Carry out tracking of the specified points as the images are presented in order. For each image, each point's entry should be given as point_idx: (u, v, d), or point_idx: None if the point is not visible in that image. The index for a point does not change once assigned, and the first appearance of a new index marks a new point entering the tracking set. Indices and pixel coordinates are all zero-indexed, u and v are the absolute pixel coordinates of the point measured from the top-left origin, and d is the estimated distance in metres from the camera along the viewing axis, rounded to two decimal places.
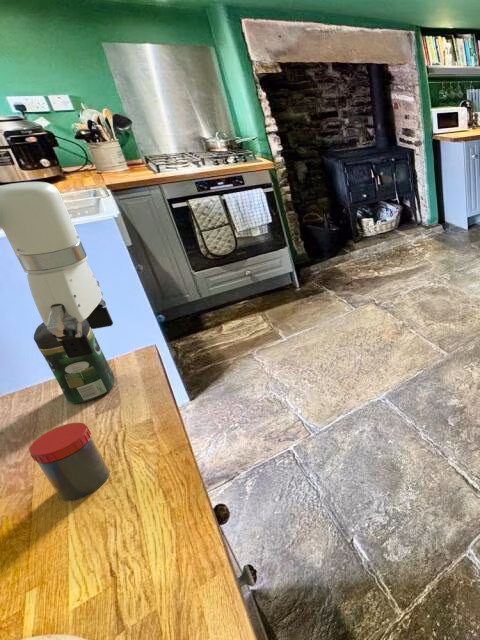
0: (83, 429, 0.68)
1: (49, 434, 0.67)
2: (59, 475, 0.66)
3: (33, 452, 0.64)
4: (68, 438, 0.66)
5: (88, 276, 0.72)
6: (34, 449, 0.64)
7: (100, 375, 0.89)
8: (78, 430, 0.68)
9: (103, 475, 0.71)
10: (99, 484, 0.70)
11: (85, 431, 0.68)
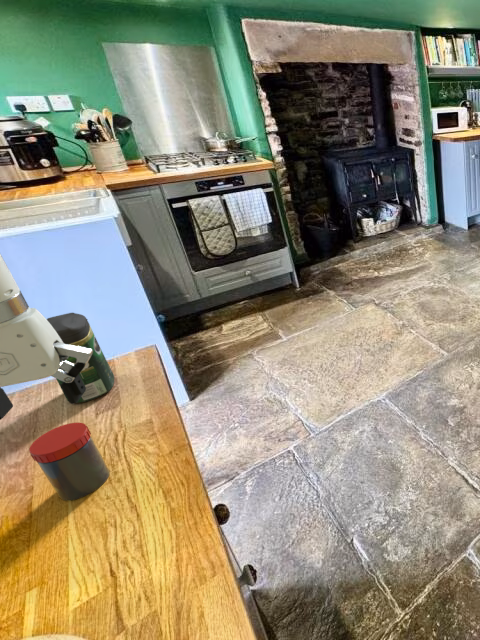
0: (83, 429, 0.68)
1: (49, 434, 0.67)
2: (59, 475, 0.66)
3: (33, 452, 0.64)
4: (68, 438, 0.66)
5: None
6: (34, 449, 0.64)
7: (100, 375, 0.89)
8: (78, 430, 0.68)
9: (103, 475, 0.71)
10: (99, 484, 0.70)
11: (85, 431, 0.68)
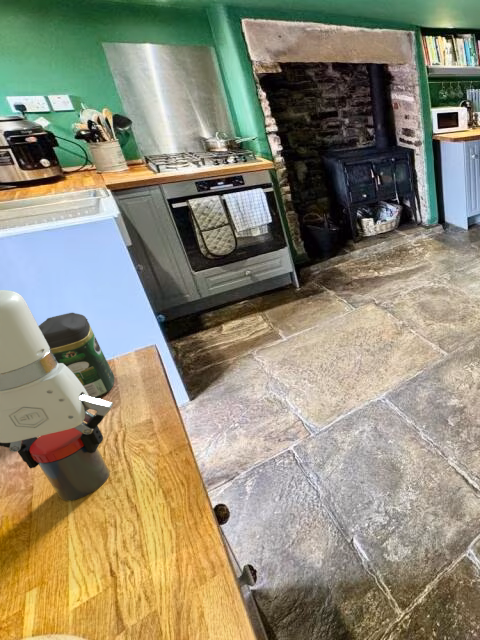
0: None
1: (49, 434, 0.67)
2: (59, 475, 0.66)
3: (33, 452, 0.64)
4: (68, 438, 0.67)
5: None
6: (34, 449, 0.64)
7: (100, 375, 0.89)
8: None
9: (103, 475, 0.71)
10: (99, 484, 0.70)
11: None
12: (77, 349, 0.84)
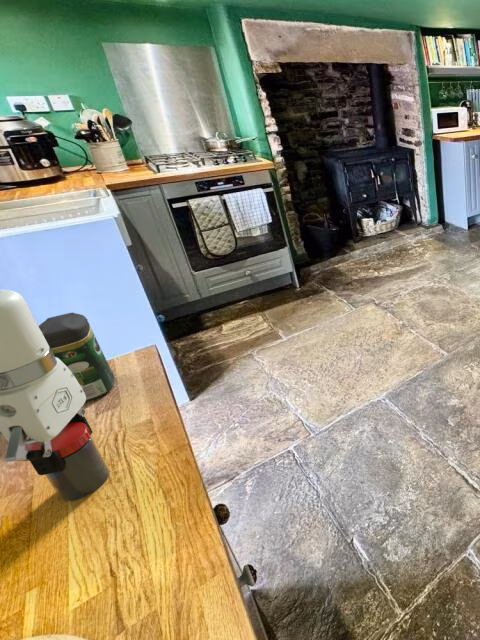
0: None
1: (39, 447, 0.65)
2: (59, 475, 0.66)
3: (67, 444, 0.65)
4: (70, 429, 0.68)
5: None
6: (60, 446, 0.65)
7: (100, 375, 0.89)
8: None
9: (103, 475, 0.71)
10: (99, 484, 0.70)
11: (70, 423, 0.69)
12: (77, 349, 0.84)
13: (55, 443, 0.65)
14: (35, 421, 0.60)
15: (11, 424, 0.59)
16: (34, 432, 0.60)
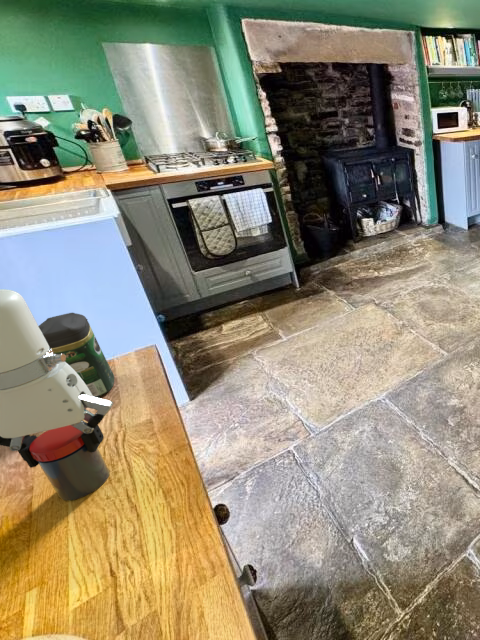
0: (32, 445, 0.65)
1: (68, 440, 0.66)
2: (59, 475, 0.66)
3: None
4: (49, 435, 0.67)
5: (39, 401, 0.61)
6: None
7: (100, 375, 0.89)
8: (38, 444, 0.65)
9: (103, 475, 0.71)
10: (99, 484, 0.70)
11: (31, 444, 0.65)
12: (77, 349, 0.84)
13: (70, 432, 0.67)
14: (85, 384, 0.67)
15: (79, 392, 0.65)
16: (90, 394, 0.68)
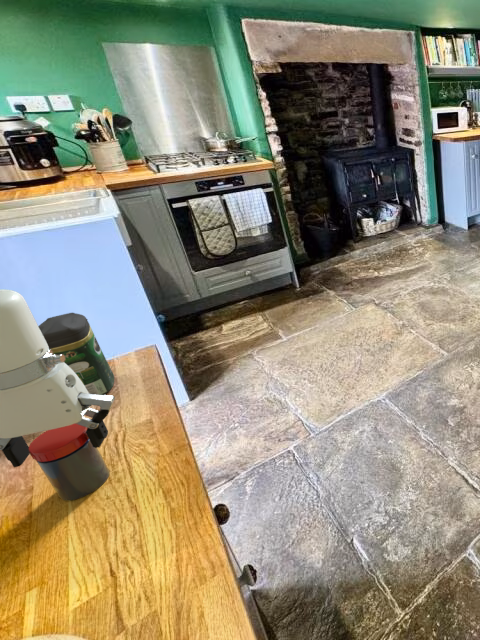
0: (32, 445, 0.65)
1: (67, 440, 0.66)
2: (59, 475, 0.66)
3: None
4: (48, 436, 0.67)
5: (37, 402, 0.61)
6: (80, 425, 0.69)
7: (100, 375, 0.89)
8: (37, 444, 0.65)
9: (103, 475, 0.71)
10: (99, 484, 0.70)
11: (30, 444, 0.65)
12: (77, 349, 0.84)
13: (70, 432, 0.67)
14: (83, 385, 0.67)
15: (77, 392, 0.65)
16: None
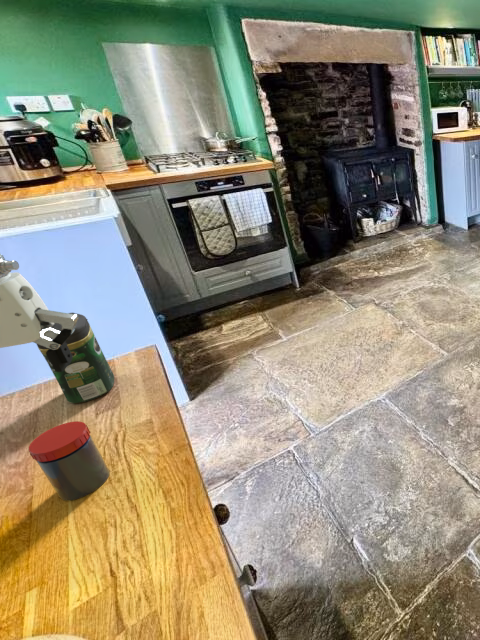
0: (32, 445, 0.65)
1: (67, 440, 0.66)
2: (59, 475, 0.66)
3: (81, 423, 0.69)
4: (48, 436, 0.67)
5: None
6: (80, 425, 0.69)
7: (100, 375, 0.89)
8: (37, 444, 0.65)
9: (103, 475, 0.71)
10: (99, 484, 0.70)
11: (30, 444, 0.65)
12: (77, 349, 0.84)
13: (70, 432, 0.67)
14: None
15: (34, 307, 0.59)
16: None
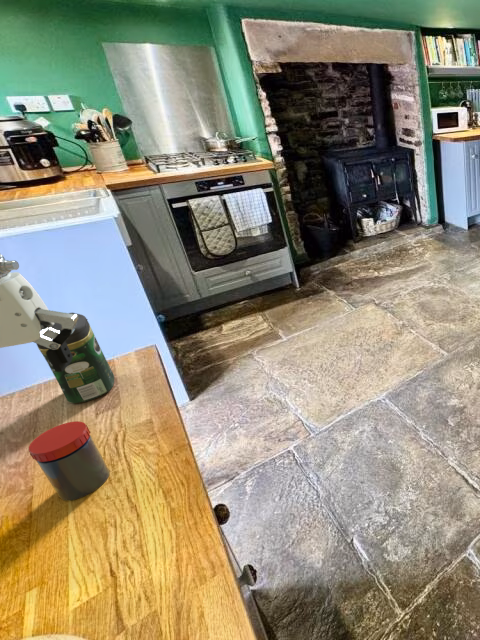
0: (32, 445, 0.65)
1: (67, 440, 0.66)
2: (59, 475, 0.66)
3: (81, 423, 0.69)
4: (48, 436, 0.67)
5: None
6: (80, 425, 0.69)
7: (100, 375, 0.89)
8: (37, 444, 0.65)
9: (103, 475, 0.71)
10: (99, 484, 0.70)
11: (30, 444, 0.65)
12: (77, 349, 0.84)
13: (70, 432, 0.67)
14: None
15: (34, 307, 0.59)
16: None
